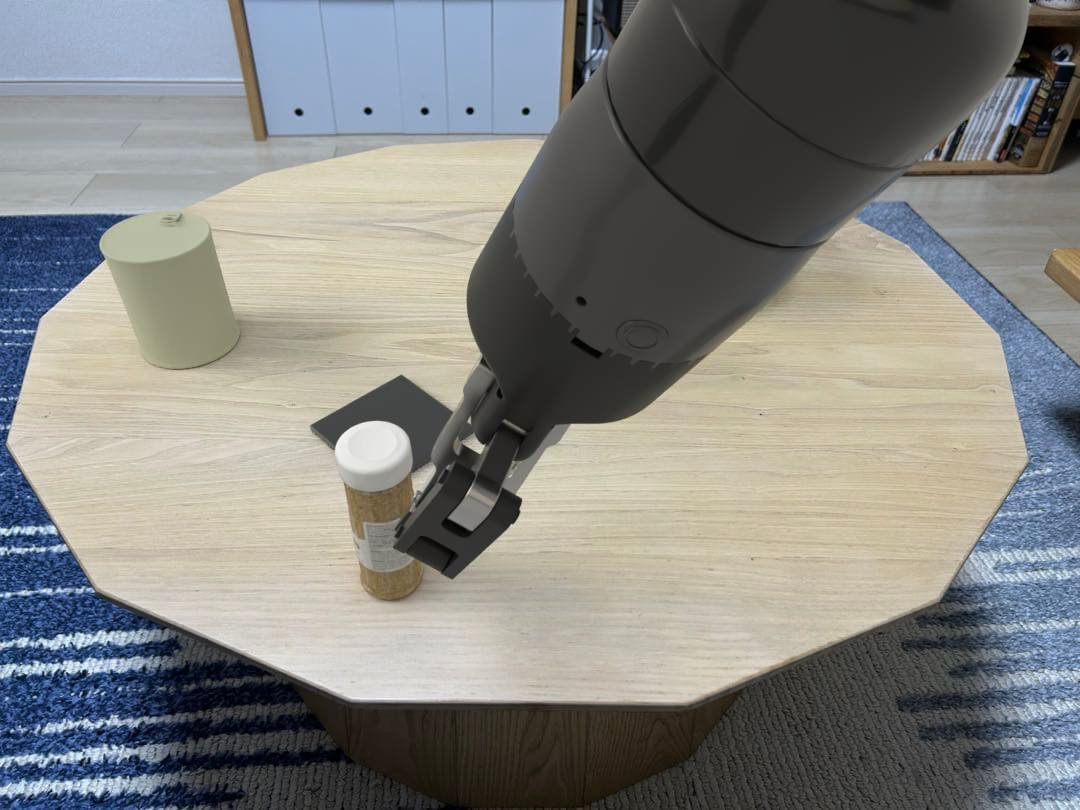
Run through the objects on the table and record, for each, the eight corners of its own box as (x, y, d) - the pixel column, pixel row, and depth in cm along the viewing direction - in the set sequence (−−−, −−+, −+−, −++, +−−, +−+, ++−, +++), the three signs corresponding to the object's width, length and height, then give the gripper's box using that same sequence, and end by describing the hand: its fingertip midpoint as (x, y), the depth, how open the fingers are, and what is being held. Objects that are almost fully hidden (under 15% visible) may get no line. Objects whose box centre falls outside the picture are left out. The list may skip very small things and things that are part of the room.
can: (254, 316, 78) (226, 209, 70) (217, 373, 71) (181, 261, 63) (167, 309, 79) (129, 201, 71) (121, 365, 72) (74, 252, 64)
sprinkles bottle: (360, 554, 57) (334, 421, 48) (422, 547, 57) (408, 414, 48) (360, 607, 53) (332, 474, 44) (426, 599, 54) (412, 466, 45)
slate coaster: (382, 492, 61) (381, 487, 61) (310, 430, 66) (309, 425, 66) (474, 431, 67) (474, 426, 66) (401, 378, 72) (401, 373, 71)
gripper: (599, 52, 26) (449, 311, 39) (418, 351, 17) (304, 553, 30) (779, 175, 27) (574, 387, 40) (688, 510, 19) (468, 639, 32)
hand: (458, 459), depth 35 cm, fingers open, 8 cm apart
